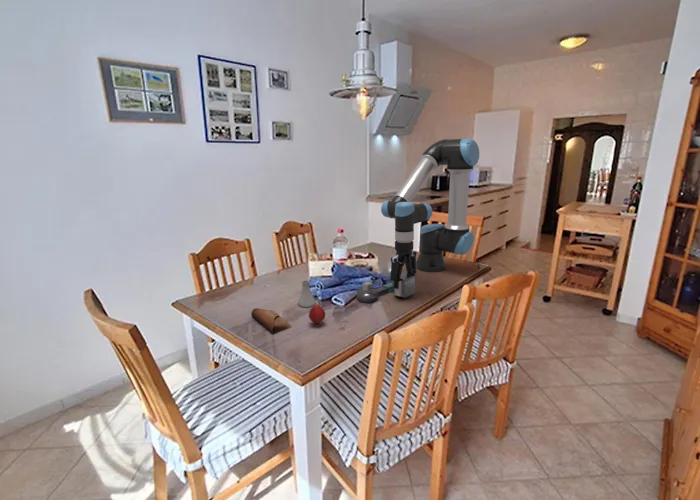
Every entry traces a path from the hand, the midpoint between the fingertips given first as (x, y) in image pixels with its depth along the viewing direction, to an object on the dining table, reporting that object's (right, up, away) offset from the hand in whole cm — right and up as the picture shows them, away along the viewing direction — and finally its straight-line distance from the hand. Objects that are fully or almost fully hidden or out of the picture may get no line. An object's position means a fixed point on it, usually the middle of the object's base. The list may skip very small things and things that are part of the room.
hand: (403, 292), depth 152 cm
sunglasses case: (-52, -9, -20) cm, 56 cm away
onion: (-35, -9, -22) cm, 42 cm away
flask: (-40, -4, -5) cm, 41 cm away
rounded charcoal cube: (0, 0, 0) cm, 0 cm away
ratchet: (-10, -1, +4) cm, 11 cm away
